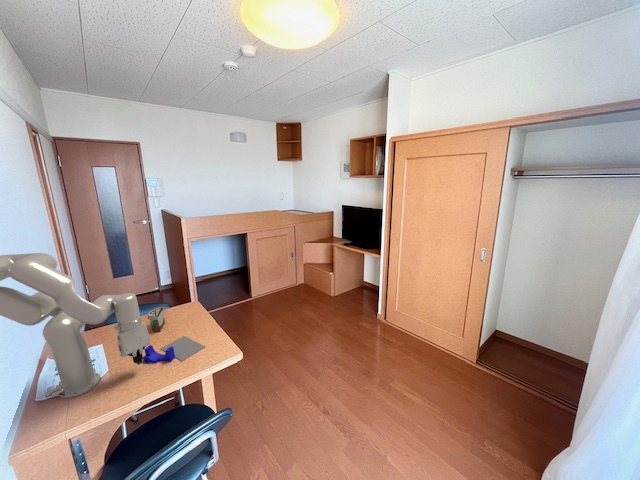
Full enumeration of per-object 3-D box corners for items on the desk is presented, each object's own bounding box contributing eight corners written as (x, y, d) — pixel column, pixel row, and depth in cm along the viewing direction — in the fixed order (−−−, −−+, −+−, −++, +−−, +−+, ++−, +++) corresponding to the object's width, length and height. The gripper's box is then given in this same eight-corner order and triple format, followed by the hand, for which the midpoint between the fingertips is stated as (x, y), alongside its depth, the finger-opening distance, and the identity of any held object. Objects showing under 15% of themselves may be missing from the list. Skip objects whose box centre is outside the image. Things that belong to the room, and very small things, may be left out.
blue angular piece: (144, 363, 116) (141, 351, 115) (151, 356, 121) (149, 345, 119) (168, 364, 115) (166, 353, 113) (175, 358, 119) (173, 346, 118)
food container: (153, 323, 148) (150, 307, 146) (165, 321, 150) (163, 306, 148) (146, 335, 137) (143, 318, 135) (159, 333, 139) (156, 316, 136)
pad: (181, 361, 116) (181, 360, 116) (160, 349, 125) (160, 348, 125) (205, 346, 126) (205, 346, 126) (184, 336, 135) (183, 335, 135)
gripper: (112, 335, 97) (122, 377, 101) (154, 317, 109) (161, 355, 113) (104, 330, 100) (114, 370, 105) (145, 313, 113) (152, 349, 117)
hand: (138, 362), depth 109 cm, fingers closed
